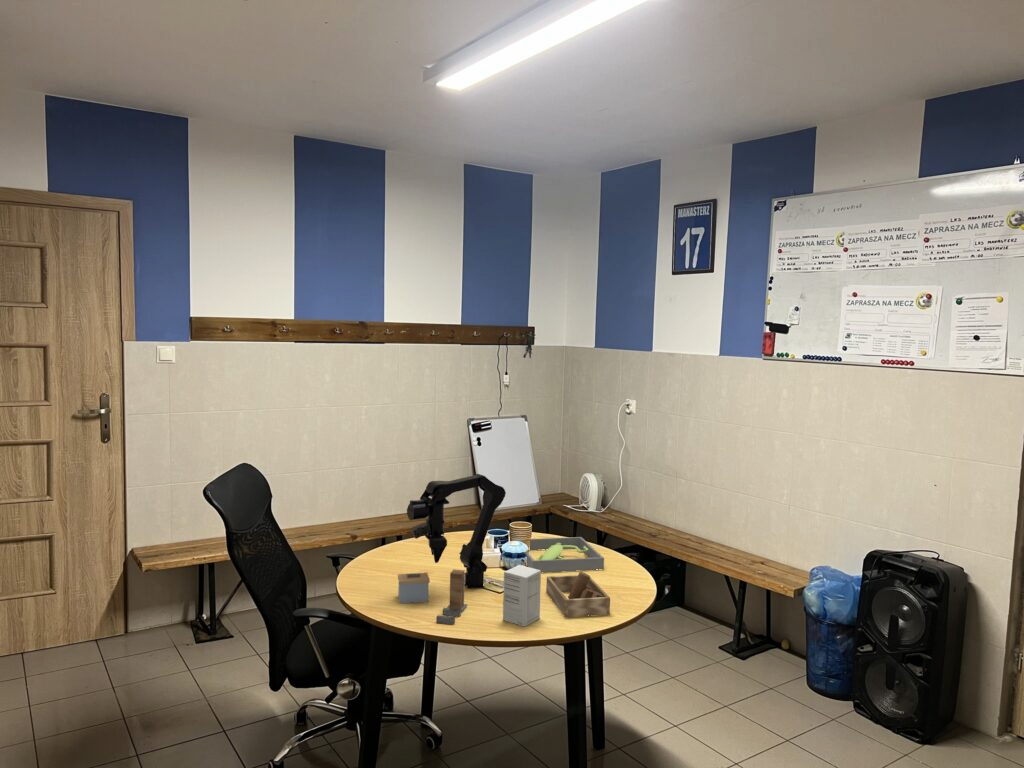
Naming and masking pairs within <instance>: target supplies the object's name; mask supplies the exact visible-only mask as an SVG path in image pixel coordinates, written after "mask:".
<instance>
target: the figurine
mask: <svg viewBox="0 0 1024 768" xmlns="http://www.w3.org/2000/svg"><path fill="white" fill-rule="evenodd" d="M563 548H574V549H573V550H575V551H577V553H579V554H584V552H587V551H588V550H589V549H588V548H586V546H584V547H583V548H584V549H585V550H580V549H578V547H577V546H573V545H561V543H556V544H555V545H552V546H550V547H549V549H548V550H545V552H543V554H541V555H539V556H538V557H537V558H536V560H554V559H566V558H564V557H562V556H560V555H561V554H562V551H563V550H564V549H563Z"/></svg>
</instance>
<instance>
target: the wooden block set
mask: <svg viewBox="0 0 1024 768" xmlns="http://www.w3.org/2000/svg"><path fill="white" fill-rule="evenodd" d="M578 572H579V573H578V574H577V575H578V577H577V579H576V581H575V583H574V585H573V587H572V590H571V592H569V594H568V596H567V599H580V598H598V597H604V596H603V595H602V594H601V593H598V592H595V591H592V590H590V588H588V587H586V586H587V583H588V581H589V579H590V577H591V575H589V574H587V573H586V572H585V571H578Z"/></svg>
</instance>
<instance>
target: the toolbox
mask: <svg viewBox="0 0 1024 768" xmlns="http://www.w3.org/2000/svg"><path fill="white" fill-rule="evenodd" d="M397 579H398V588H397V589H398V594H397V595H398V596H399V597H398V596H397V597H398V600H399V601H400V602H399V604H411V603H410V602H413V603H425V602H429V586H430V581H431V580H430V577H429V575H428V572H415V573H412V572H411V573H398V574H397Z"/></svg>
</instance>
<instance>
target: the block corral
mask: <svg viewBox="0 0 1024 768" xmlns="http://www.w3.org/2000/svg"><path fill="white" fill-rule="evenodd" d="M577 577H578V574H575V575H574V574H571V575H569V574H568V575H554V576H553V575H552V576H551V575H550V576H546V586H545V587H546V588H545V590H546V591H545V592H546V594H547V595H548V597H549V599H550V600H551V599H552V600H551V601H552V602H553V604H554V603H555V604H554V605H555V607H556V608H557V609H558V610H559V611H560V613H561V615H562V616H563V615H564V616H563V617H564V618H565V617H568V618H579V617H578V616H584V617H592V616H591V615H599V616H609V615H610V613H611V611H610V610H611V609H610V607H611V605H610V604H611V597H610V596H609V595H608V594H607V592H606V591H604V590H603V589H602V588H601V587H600V585H598V584H597V582H596V581H595V580H594V579H593V578H592V577H591V576H590V579H589V581H588V583H587V586H586V587H588V588H590V590H592V591H595V592H598V593H601V594H602V595H603V596H604V597H598V598H580V599H569V598H568V597H566V596H565V594H564V593H570V592H571V590H572V587H573V585H574V583H575V581H576V579H577ZM562 592H563V593H562ZM608 614H609V615H608ZM588 615H589V616H588Z"/></svg>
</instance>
